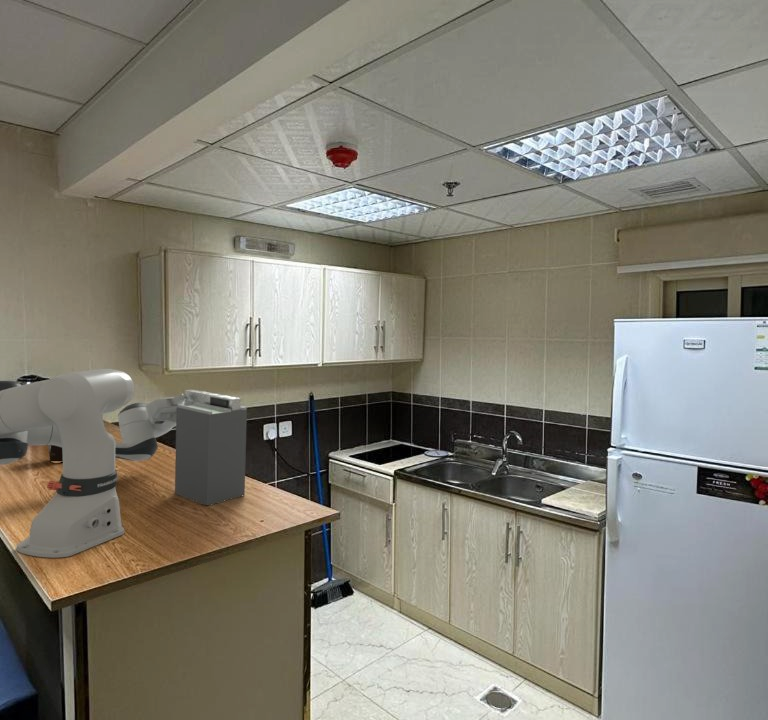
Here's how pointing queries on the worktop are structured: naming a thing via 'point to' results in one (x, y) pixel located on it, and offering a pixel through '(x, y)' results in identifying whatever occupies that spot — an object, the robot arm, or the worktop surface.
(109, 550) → the worktop surface
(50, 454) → the coffee mug
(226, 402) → the brushed metal post
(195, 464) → the tall grey pillar
